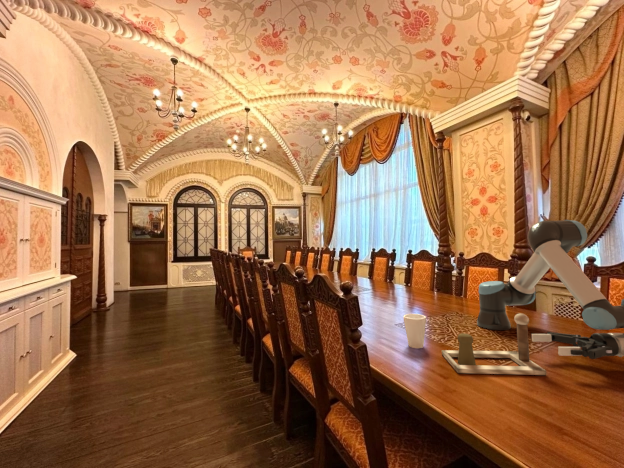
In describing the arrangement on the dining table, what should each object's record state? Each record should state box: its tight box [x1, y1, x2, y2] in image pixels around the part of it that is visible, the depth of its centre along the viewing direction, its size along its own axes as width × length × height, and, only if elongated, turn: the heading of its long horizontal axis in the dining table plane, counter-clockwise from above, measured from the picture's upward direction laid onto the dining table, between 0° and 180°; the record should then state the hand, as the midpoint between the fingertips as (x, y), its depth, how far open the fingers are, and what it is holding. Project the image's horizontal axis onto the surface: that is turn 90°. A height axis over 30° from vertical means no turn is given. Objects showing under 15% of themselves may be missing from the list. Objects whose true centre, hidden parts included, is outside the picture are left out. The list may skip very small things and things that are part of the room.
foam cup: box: [403, 313, 427, 349], centre depth 126 cm, size 10×9×13 cm
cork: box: [457, 333, 477, 365], centre depth 106 cm, size 6×6×11 cm
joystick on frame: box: [441, 313, 548, 376], centre depth 105 cm, size 28×17×18 cm, turn 83°
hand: (544, 343), depth 102 cm, fingers open, 13 cm apart
